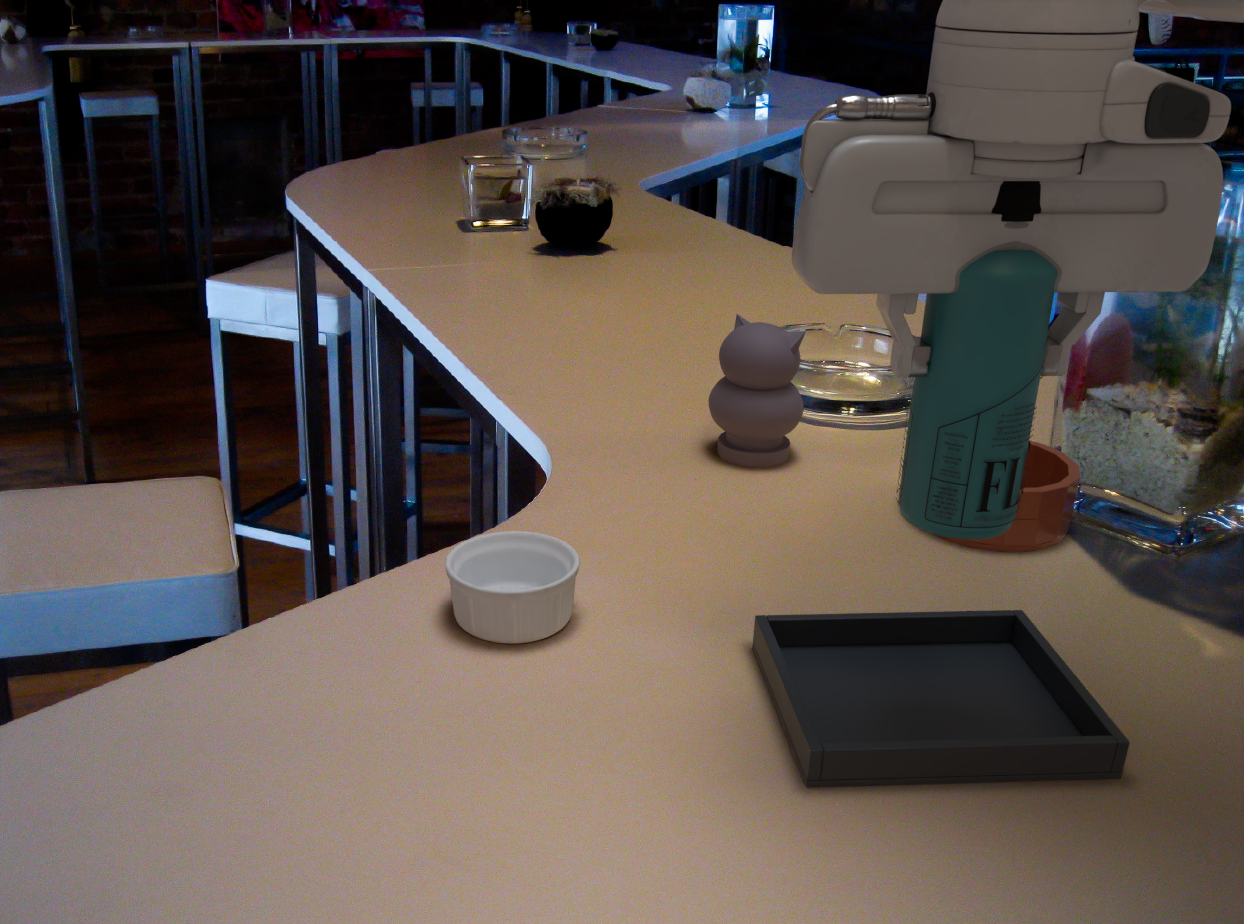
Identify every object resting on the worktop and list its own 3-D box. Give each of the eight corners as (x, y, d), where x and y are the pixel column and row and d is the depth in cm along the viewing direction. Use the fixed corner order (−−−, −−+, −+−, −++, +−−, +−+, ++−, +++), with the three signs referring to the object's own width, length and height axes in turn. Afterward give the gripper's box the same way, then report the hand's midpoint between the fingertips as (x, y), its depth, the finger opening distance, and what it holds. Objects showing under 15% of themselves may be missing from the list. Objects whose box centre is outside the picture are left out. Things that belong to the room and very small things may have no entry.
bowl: (1029, 486, 102) (1039, 431, 100) (1094, 551, 91) (1107, 490, 89) (889, 488, 101) (896, 433, 99) (938, 553, 91) (947, 492, 88)
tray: (1015, 642, 79) (1022, 609, 78) (1121, 780, 66) (1130, 742, 65) (751, 648, 78) (755, 614, 77) (806, 789, 65) (810, 750, 64)
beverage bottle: (971, 578, 63) (1039, 186, 55) (865, 536, 68) (913, 167, 59) (1035, 542, 67) (1108, 171, 59) (930, 504, 72) (984, 154, 63)
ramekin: (476, 662, 76) (475, 602, 74) (428, 600, 84) (425, 544, 82) (601, 632, 80) (603, 574, 78) (544, 575, 87) (545, 520, 85)
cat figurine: (686, 450, 109) (693, 320, 104) (744, 430, 113) (754, 304, 108) (759, 480, 103) (771, 343, 98) (817, 457, 108) (831, 325, 102)
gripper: (823, 102, 54) (794, 396, 60) (1268, 102, 55) (1196, 391, 61) (790, 87, 60) (767, 357, 66) (1194, 87, 61) (1135, 353, 67)
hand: (977, 373), depth 63 cm, fingers closed on beverage bottle, 6 cm apart
